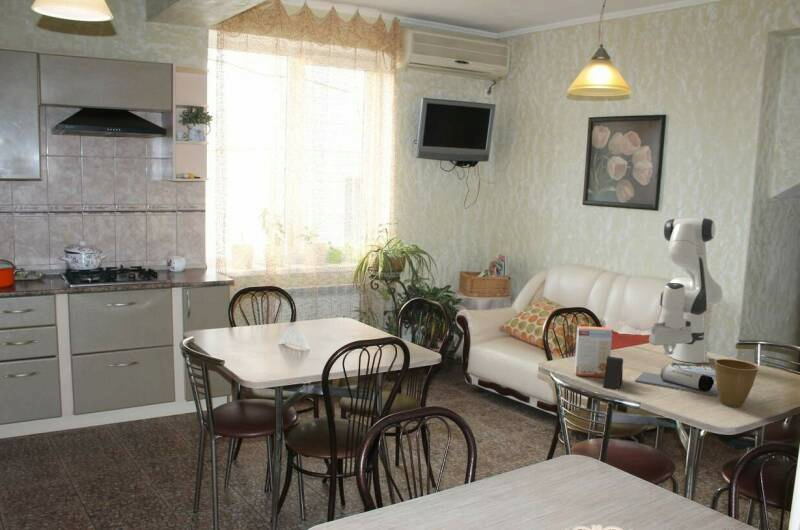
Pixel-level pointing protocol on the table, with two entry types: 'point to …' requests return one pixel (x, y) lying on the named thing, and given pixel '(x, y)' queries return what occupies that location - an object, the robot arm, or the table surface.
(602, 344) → the cracker box
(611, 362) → the door stopper
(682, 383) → the travel mug
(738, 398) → the plant pot
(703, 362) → the robot arm
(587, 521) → the table surface
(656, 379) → the rubber mat
